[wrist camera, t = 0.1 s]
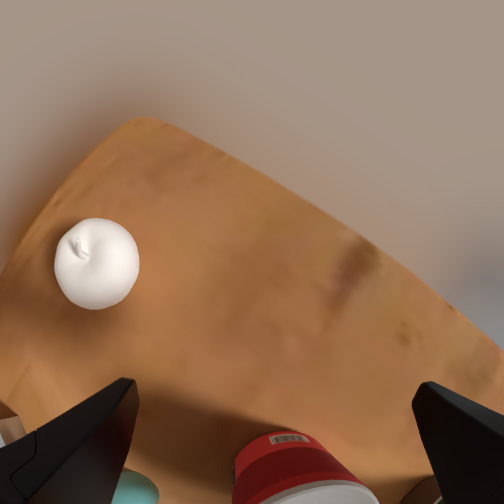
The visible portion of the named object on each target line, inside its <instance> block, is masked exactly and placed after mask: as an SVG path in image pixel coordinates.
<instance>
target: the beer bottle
mask: <svg viewBox="0 0 504 504" xmlns="http://www.w3.org/2000/svg"><path fill="white" fill-rule="evenodd" d="M401 504H444V502H443V499H442V496H441V493H440V490H439V487H438V484H437V481H436V478H435V477H432V478H429V479H425V480H422V481H421V482H420V483H419V484H418V485H417V486H416V487H415V488H414V489H413V490H412V491H410V492H409V493H408V494H407V495H406V496H405V497H404V498H403V500H402V503H401Z"/></svg>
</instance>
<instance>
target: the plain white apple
mask: <svg viewBox="0 0 504 504" xmlns="http://www.w3.org/2000/svg"><path fill="white" fill-rule="evenodd" d="M54 271H55V275H56V279H57V281H58V283H59V286H60V288H61V289H62V291H63V293H64V294H65V296H66V297H67V298H68V299H69V300H70V301H71V302H73V303H75V304H76V305H78V306H80V307H83V308H86V309H90V310H100V309H104V308H108V307H110V306H113V305H115V304H117V303H119V302H120V301H122V300H123V299H124V298H125V297H126V295H127V294H128V293H129V291H130V290H131V288H132V287H133V285H134V283H135V281H136V279H137V276H138V272H139V255H138V250H137V246H136V243H135V241H134V240H133V238H132V236H131V235H130V234H129V233H128V232H127V231H126V230H125V229H124V228H123V227H122V226H120V225H119V224H117V223H115V222H113V221H110V220H107V219H101V218H90V219H85V220H83V221H81V222H79V223H78V224H76V225H75V226H74V227H73V228H71V229H70V230H69V231H68V232H67V233H66V234H65V235H64V236H63V237H62V238H61V239H60V241H59V244H58V246H57V251H56V256H55V261H54Z"/></svg>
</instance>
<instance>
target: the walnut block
mask: <svg viewBox="0 0 504 504" xmlns="http://www.w3.org/2000/svg"><path fill="white" fill-rule="evenodd" d="M0 435H1V437H2V439H3V441H4V443H5V445H8V444H10V443H12V442H14V441H16V440H18V439H20V438H22V437H23V436H25V435H27V434H26V432H25V429H24V427H23V425H22V422H21V420H20V418H19V416H15V417H10V418H5V419H0Z"/></svg>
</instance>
